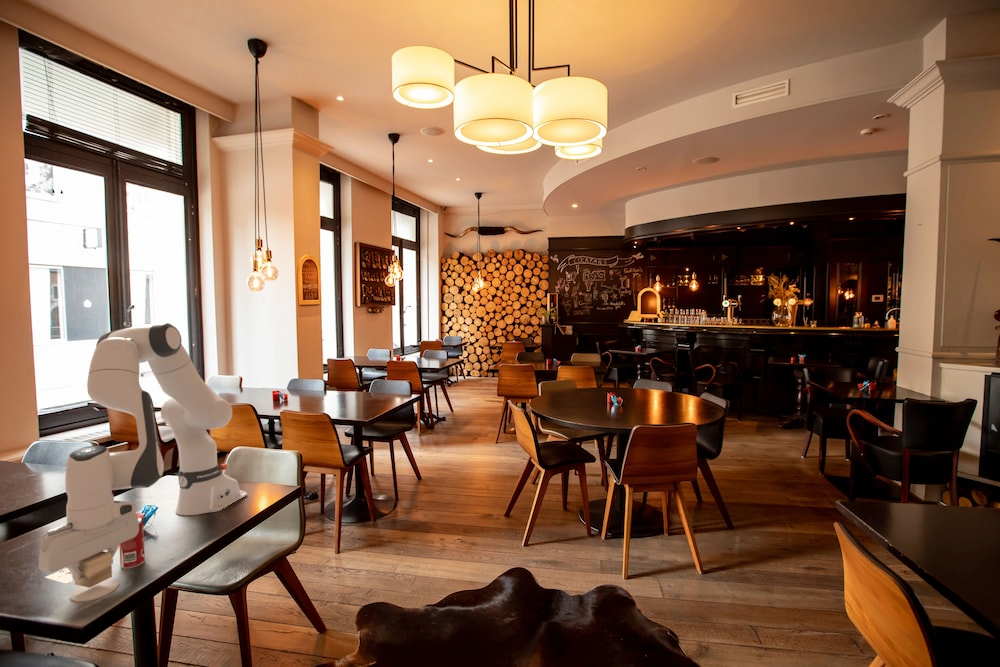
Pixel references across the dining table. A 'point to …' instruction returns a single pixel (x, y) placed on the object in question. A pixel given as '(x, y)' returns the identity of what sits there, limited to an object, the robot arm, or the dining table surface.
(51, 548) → the robot arm
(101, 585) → the white plate
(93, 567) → the oak block
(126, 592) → the dining table surface
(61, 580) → the beige card
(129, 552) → the soda can
